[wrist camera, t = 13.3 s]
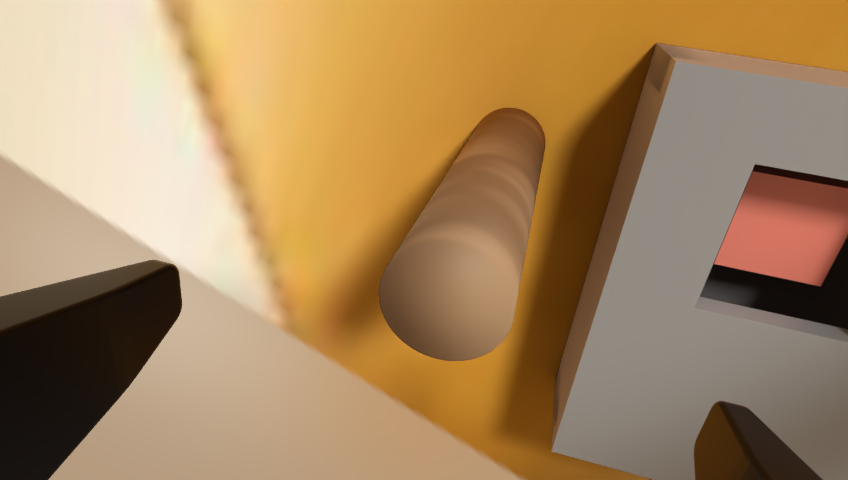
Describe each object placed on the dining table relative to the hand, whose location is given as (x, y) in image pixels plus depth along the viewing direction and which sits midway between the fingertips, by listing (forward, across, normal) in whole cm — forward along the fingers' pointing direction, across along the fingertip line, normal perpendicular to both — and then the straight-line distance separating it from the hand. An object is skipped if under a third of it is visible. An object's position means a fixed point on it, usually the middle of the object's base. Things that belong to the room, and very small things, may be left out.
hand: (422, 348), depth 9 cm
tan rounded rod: (+12, 0, 0) cm, 13 cm away
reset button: (+12, -9, +1) cm, 15 cm away
